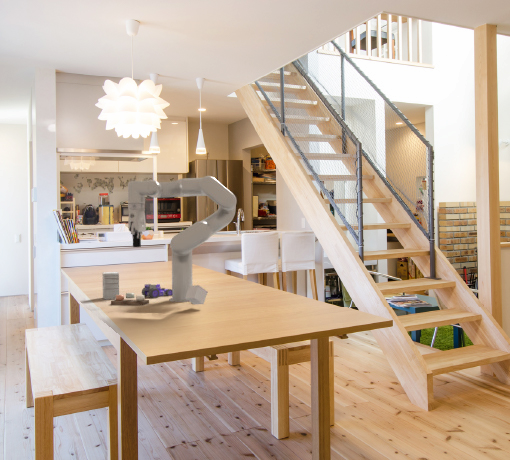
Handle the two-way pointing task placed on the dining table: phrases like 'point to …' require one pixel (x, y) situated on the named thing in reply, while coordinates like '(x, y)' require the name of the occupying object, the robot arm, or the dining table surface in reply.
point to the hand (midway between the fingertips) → (136, 246)
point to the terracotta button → (119, 297)
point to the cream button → (140, 298)
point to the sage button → (129, 295)
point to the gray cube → (196, 294)
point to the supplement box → (110, 285)
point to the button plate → (129, 302)
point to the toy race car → (155, 291)
